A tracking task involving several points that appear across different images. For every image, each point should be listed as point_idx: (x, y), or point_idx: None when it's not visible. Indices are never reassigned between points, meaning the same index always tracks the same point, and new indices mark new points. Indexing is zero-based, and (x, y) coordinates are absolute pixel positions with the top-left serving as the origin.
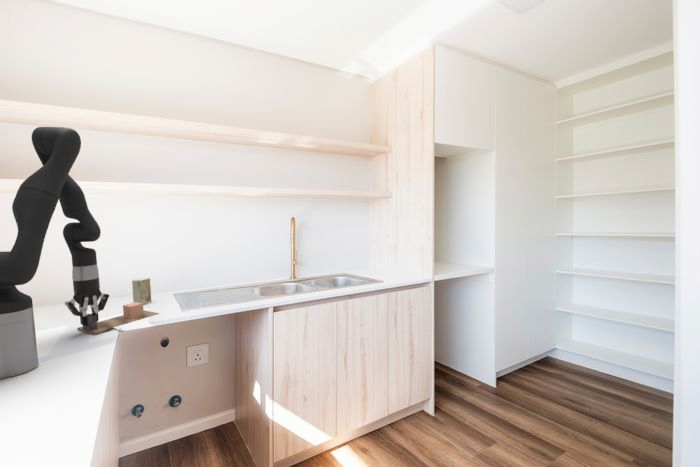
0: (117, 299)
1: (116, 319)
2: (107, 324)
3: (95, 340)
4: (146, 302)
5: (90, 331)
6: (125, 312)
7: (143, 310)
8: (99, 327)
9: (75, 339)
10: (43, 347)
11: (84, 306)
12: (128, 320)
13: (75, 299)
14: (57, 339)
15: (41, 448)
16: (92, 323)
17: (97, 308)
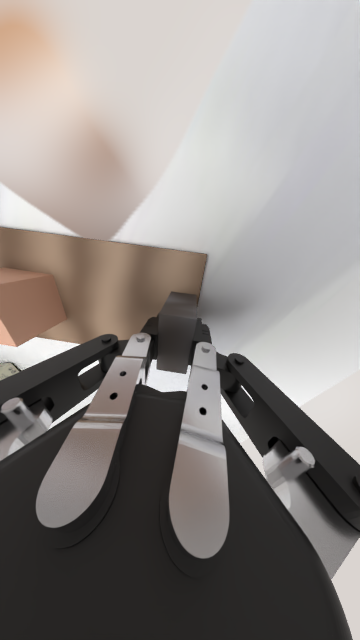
0: None
1: (90, 323)
2: (129, 303)
3: (258, 166)
4: None
5: (198, 289)
6: (43, 317)
7: None
8: (159, 300)
9: (255, 282)
10: (334, 310)
11: (215, 389)
12: (63, 269)
13: (320, 562)
14: (260, 337)
15: None
16: (184, 303)
17: (128, 348)
